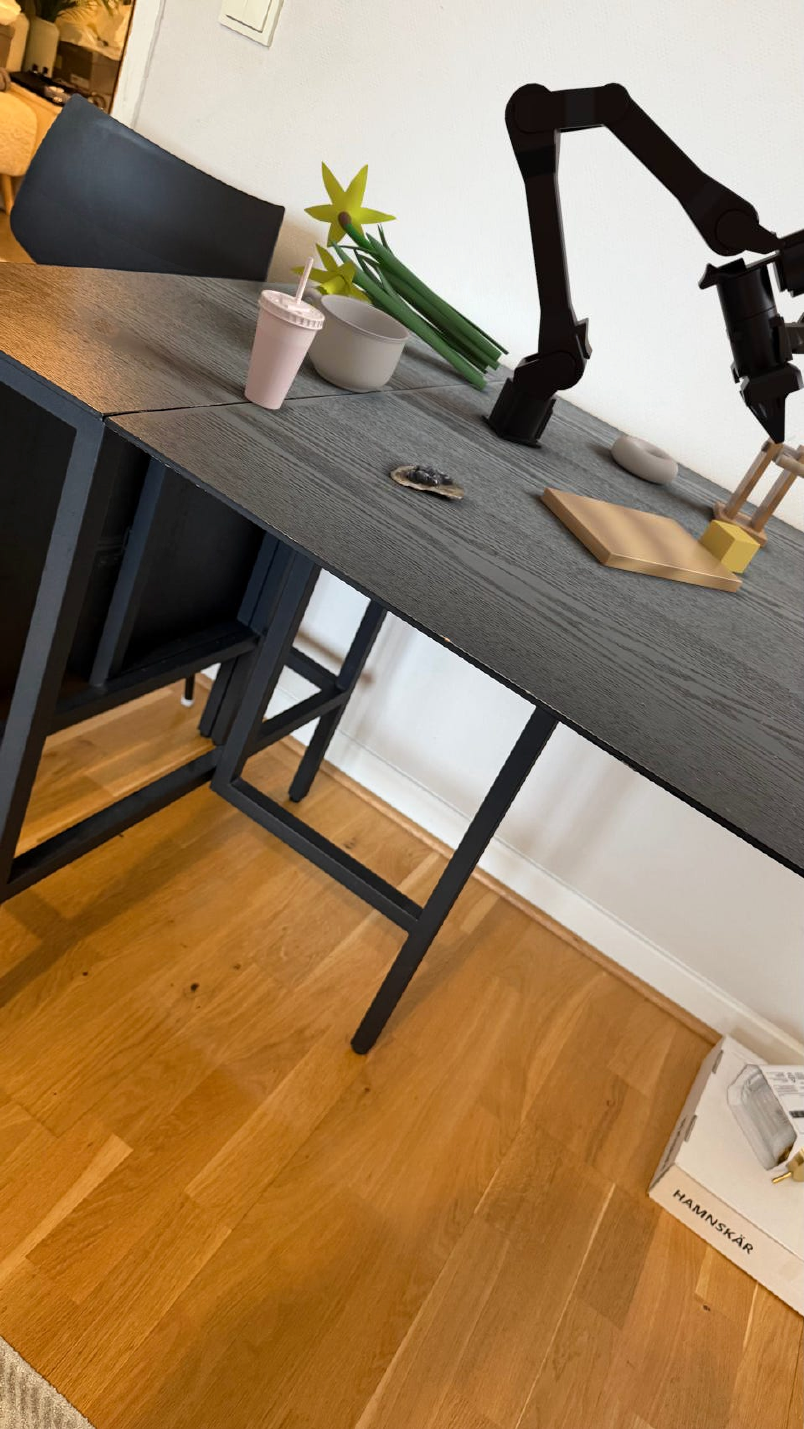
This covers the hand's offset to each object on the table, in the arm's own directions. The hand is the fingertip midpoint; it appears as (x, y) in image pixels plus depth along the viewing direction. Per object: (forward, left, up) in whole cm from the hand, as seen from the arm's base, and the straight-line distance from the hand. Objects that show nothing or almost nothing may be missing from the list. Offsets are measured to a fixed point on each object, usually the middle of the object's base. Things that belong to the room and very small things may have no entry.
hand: (779, 442), depth 116 cm
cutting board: (-21, -9, -13) cm, 27 cm away
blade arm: (+6, +2, -3) cm, 7 cm away
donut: (-1, +18, -14) cm, 23 cm away
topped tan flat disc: (-48, -6, -14) cm, 51 cm away
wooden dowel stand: (+8, +5, -13) cm, 16 cm away
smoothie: (-62, +6, -14) cm, 64 cm away
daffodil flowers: (-32, +44, -14) cm, 56 cm away
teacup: (-49, +21, -14) cm, 55 cm away
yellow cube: (-7, -8, -13) cm, 17 cm away
